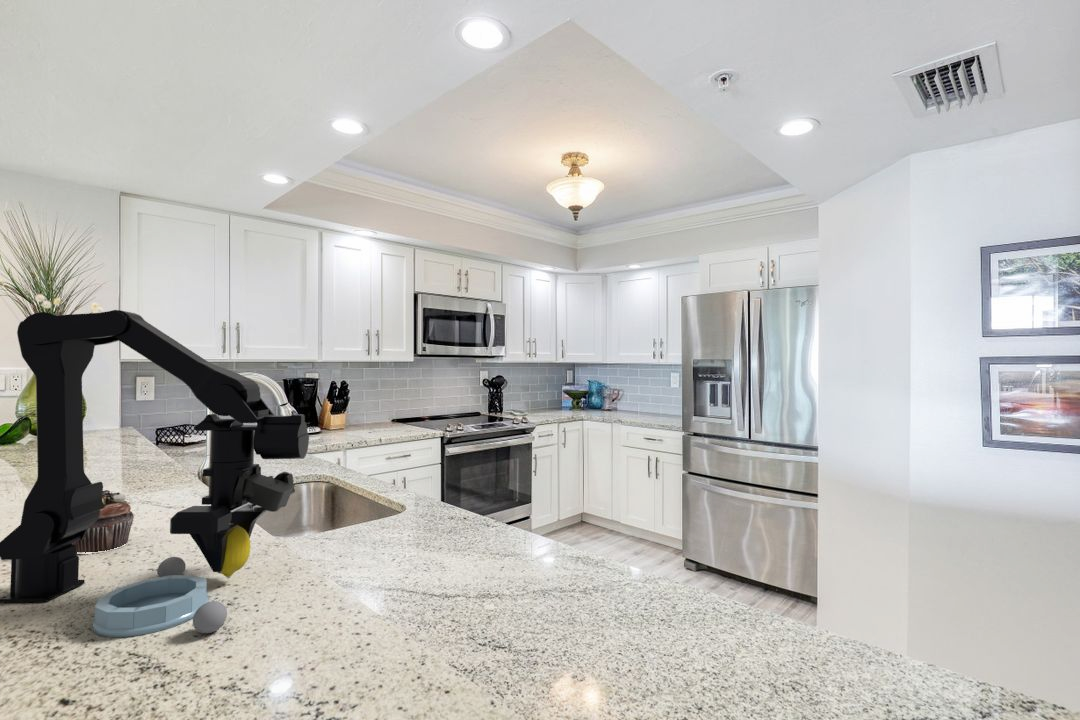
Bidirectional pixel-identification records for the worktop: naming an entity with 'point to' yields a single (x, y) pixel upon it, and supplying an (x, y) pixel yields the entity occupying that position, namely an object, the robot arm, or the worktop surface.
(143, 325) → the robot arm
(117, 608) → the dish
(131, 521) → the cupcake
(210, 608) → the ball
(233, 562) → the lemon
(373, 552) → the worktop surface
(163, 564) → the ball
